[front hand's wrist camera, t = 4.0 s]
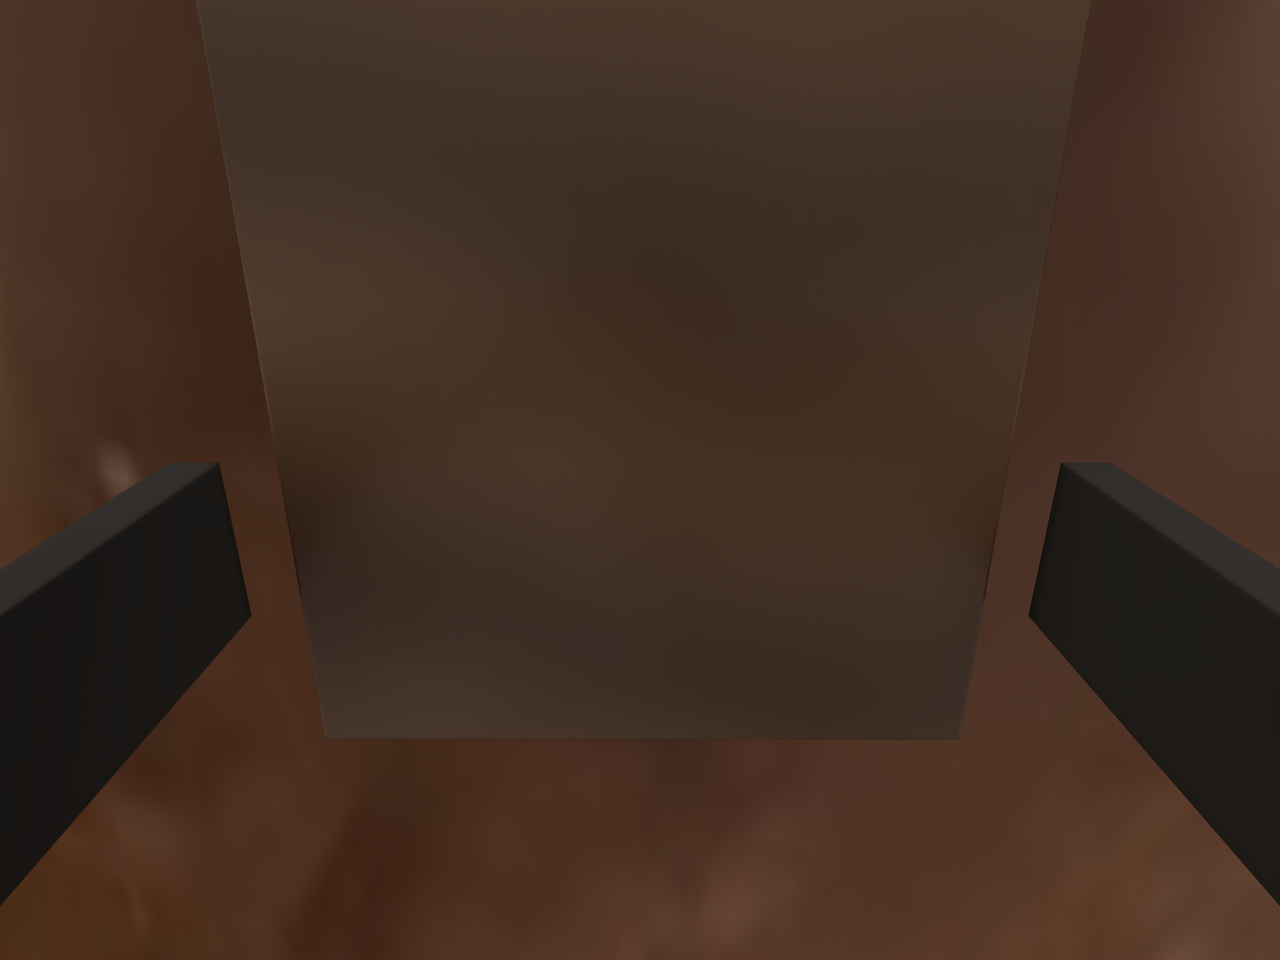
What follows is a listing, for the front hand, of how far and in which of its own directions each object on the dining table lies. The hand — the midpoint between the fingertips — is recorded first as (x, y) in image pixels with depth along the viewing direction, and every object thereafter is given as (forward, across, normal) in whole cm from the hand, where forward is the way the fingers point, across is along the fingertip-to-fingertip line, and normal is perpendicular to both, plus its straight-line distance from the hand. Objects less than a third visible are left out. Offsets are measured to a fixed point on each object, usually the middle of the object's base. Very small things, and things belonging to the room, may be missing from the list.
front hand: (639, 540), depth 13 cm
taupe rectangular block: (+10, 0, -6) cm, 11 cm away
